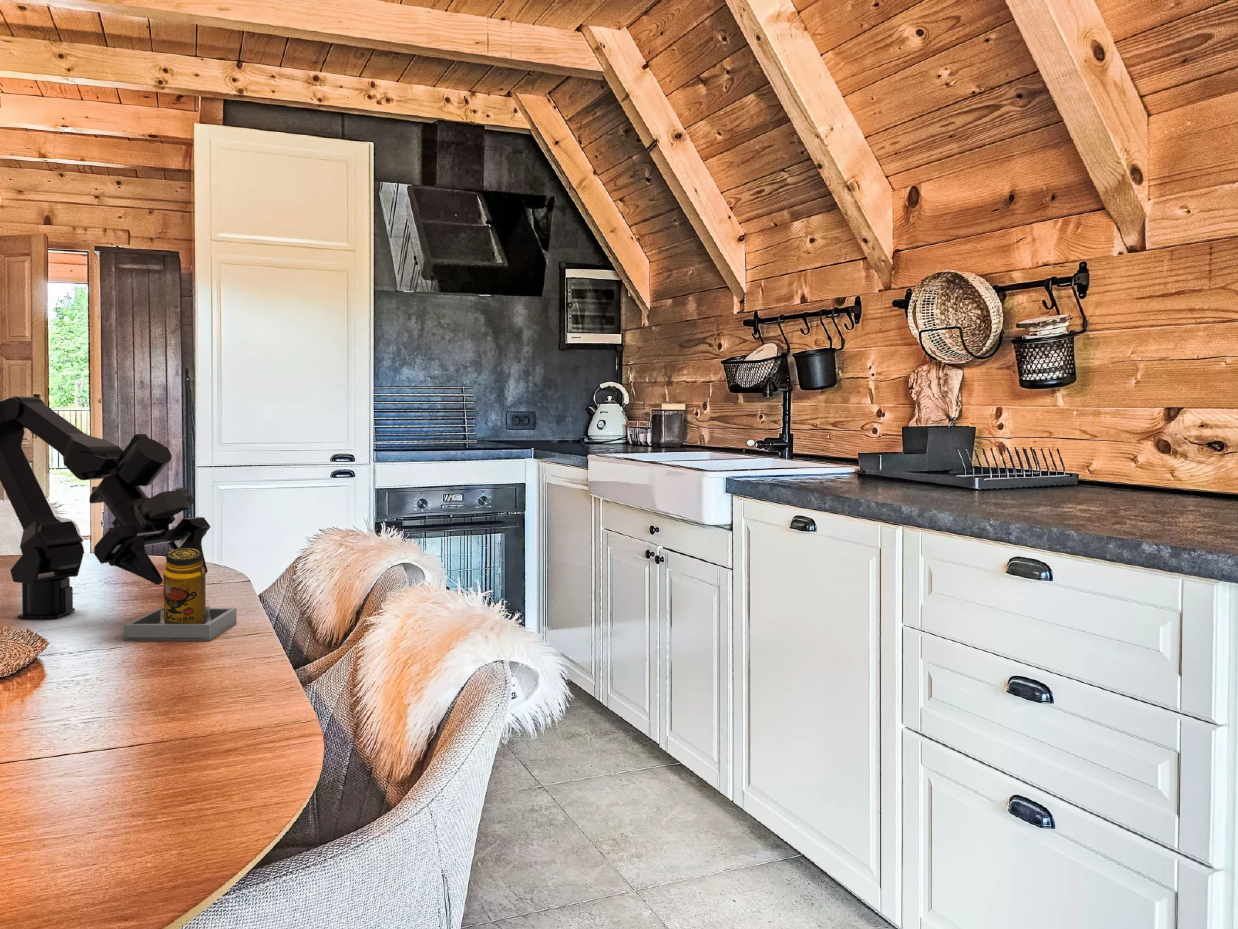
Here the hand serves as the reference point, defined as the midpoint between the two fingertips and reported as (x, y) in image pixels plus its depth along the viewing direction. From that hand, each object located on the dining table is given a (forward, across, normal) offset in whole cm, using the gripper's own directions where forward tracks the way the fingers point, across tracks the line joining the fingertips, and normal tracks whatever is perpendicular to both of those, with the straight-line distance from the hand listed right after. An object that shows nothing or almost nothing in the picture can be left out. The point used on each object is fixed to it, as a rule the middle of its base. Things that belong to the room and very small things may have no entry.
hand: (183, 578), depth 148 cm
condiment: (+5, +1, +5) cm, 7 cm away
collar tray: (+6, 0, +6) cm, 9 cm away
